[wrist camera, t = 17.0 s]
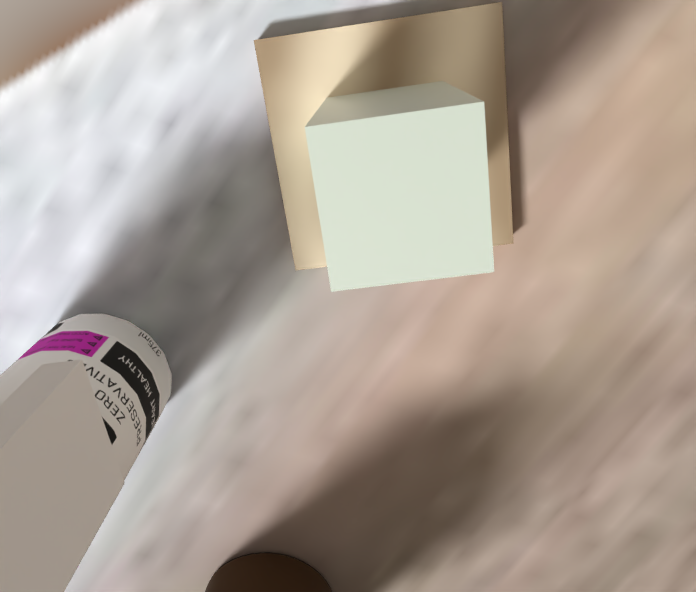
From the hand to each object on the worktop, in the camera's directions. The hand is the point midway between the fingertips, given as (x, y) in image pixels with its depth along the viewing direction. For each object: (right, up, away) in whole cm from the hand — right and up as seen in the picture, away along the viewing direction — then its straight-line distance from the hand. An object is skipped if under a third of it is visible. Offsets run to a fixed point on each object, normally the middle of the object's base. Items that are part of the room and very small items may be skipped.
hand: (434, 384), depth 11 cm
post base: (+1, +10, +22) cm, 24 cm away
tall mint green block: (+1, +9, +21) cm, 23 cm away
